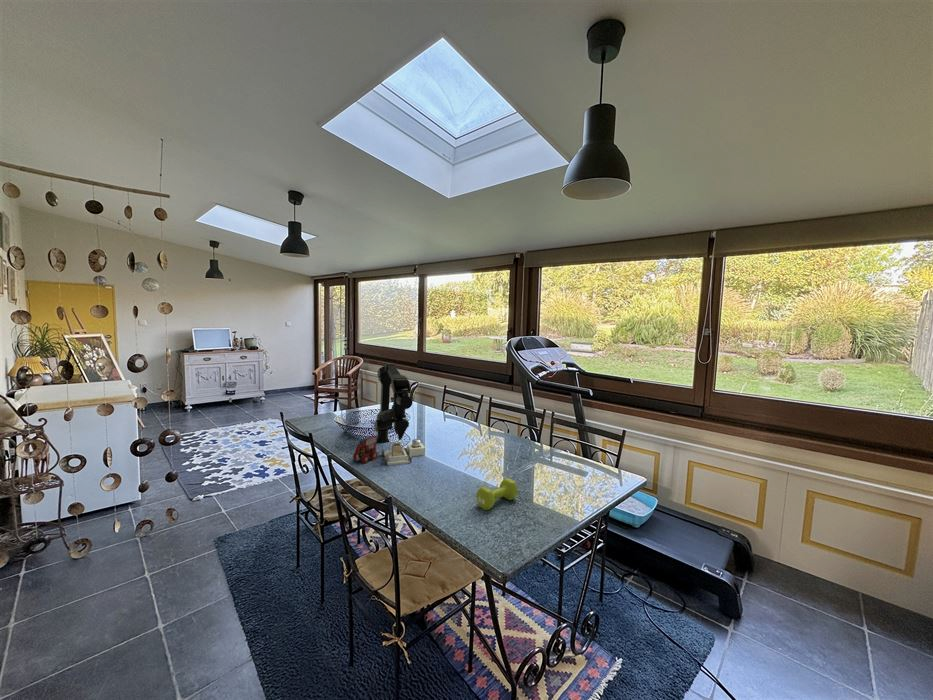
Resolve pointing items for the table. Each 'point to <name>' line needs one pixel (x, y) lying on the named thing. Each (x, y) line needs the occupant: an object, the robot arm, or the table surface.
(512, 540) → the table surface
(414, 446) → the plunger
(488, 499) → the dumbbell
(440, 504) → the table surface
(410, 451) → the plunger housing
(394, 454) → the engine block
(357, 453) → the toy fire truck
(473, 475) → the table surface
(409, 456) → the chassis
